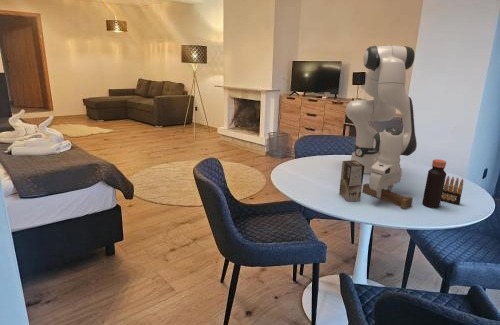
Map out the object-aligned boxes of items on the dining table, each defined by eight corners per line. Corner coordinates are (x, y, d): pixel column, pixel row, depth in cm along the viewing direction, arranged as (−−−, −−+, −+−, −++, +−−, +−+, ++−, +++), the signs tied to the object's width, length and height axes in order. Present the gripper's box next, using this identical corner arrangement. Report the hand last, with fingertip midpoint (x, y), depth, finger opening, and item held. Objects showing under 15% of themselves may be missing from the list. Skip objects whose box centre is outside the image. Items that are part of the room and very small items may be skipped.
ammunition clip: (431, 199, 153) (436, 174, 149) (432, 197, 154) (437, 172, 151) (459, 205, 147) (465, 179, 143) (459, 204, 148) (465, 178, 144)
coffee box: (360, 201, 148) (365, 166, 144) (347, 201, 147) (351, 166, 142) (351, 193, 157) (355, 159, 152) (338, 193, 156) (342, 160, 151)
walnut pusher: (368, 190, 161) (369, 182, 160) (411, 206, 144) (413, 197, 143) (360, 193, 157) (361, 185, 156) (403, 209, 141) (405, 200, 140)
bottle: (424, 200, 150) (432, 157, 145) (441, 205, 146) (450, 161, 140) (420, 205, 145) (428, 161, 140) (437, 210, 141) (447, 164, 135)
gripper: (393, 160, 155) (389, 188, 159) (368, 167, 143) (364, 198, 147) (407, 163, 150) (402, 192, 155) (382, 171, 138) (377, 202, 142)
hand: (383, 195), depth 151 cm, fingers open, 6 cm apart
